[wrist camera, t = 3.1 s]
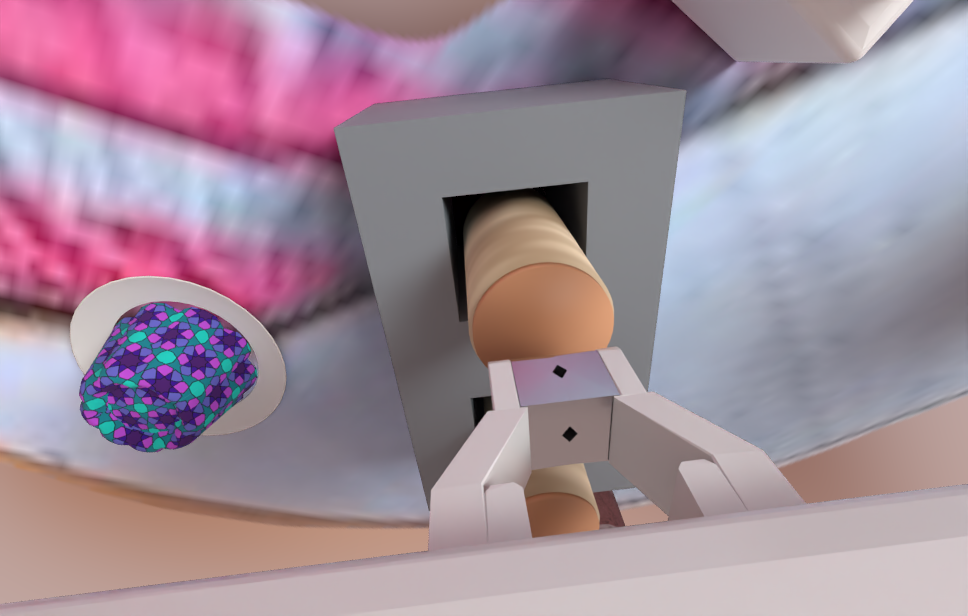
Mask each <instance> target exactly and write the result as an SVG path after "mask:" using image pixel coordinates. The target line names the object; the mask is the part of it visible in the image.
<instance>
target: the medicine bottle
mask: <svg viewBox="0 0 968 616" xmlns="http://www.w3.org/2000/svg"><path fill="white" fill-rule="evenodd" d="M671 1H672V2H673V3H674V4H675V5H677V6H678V7H679V8H680V9H681V10H682V11H683V12H684V13H685V14H686V15H687V16H688V17H689V18H690V19H691V20H692V21H694V22H695V23H696V24H697V25H698V26H699V27H700V28H701V29H702V30H703V31H704V32H705V33H706V34H707V35H708V36H709V37H711V38H712V39H713V40H714V41H715V42H716V43H717V44H718V45H719V46H720V47H721V48H722V49H723V50H724V51H725V52H727V53H728V54H729V55H730V56H731V57H732V58H733V59H734V60H736V61H738V62H789V63H851V62H855V61H858V60H859V59H860V58H862V57H863V56H864V55H865V54H866V52H867V51H868V50H869V49H870V48H871V47H872V46H873V45H874V44H875V42H876V41H877V40H878V39H879V38H880V37H881V36H882V35H883V34H884V32H885V31H886V30H887V29H888V28H889V27H890V26H891V25H892V24H893V23H894V21H895V20H896V19H897V18H898V17H899V16H900V15H901V14H902V13H903V11H904V10H905V9H906V8H907V7H908V6H909V5H910V4H911V3H912V1H913V0H671Z"/></svg>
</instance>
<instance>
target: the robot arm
mask: <svg viewBox="0 0 968 616" xmlns="http://www.w3.org/2000/svg"><path fill="white" fill-rule="evenodd" d="M488 373H489V382H490V391H491V400H492V409H493V411H488V412H486V414H485V415H484V416H483V418H482V419H481V421H480V422H479V424H478V425H477V426H476V428H475V429H474V431H473V432H472V433H471V435H470V436H469V438H468V439H467V440H466V442H465V443H464V445H463V446H462V447H461V449H460V450H459V452H458V453H457V454H456V456H455V457H454V459H453V460H452V461H451V463H450V464H449V466H448V467H447V468H446V470H445V471H444V473H443V474H442V475H441V477H440V478H439V480H438V481H437V482H436V484H435V485H434V487H433V488H432V490H431V501H430V522H429V543H428V551H424V552H414V553H406V554H398V555H390V556H383V557H374V558H366V559H359V560H350V561H342V562H335V563H326V564H318V565H311V566H302V567H294V568H286V569H278V570H270V571H262V572H254V573H246V574H237V575H229V576H222V577H213V578H205V579H198V580H190V581H182V582H173V583H166V584H158V585H149V586H141V587H134V588H126V589H118V590H109V591H102V592H93V593H85V594H77V595H70V596H61V597H54V598H45V599H37V600H29V601H21V602H13V603H5V604H0V616H968V484H963V485H956V486H947V487H939V488H930V489H922V490H915V491H906V492H898V493H891V494H882V495H874V496H866V497H858V498H850V499H842V500H834V501H825V502H817V503H809V504H806V503H805V501H804V500H803V499H802V498H801V497H800V495H799V494H798V493H797V492H796V490H795V489H794V488H793V487H792V485H791V484H790V483H789V482H788V480H787V479H786V478H785V477H784V475H783V474H782V473H781V472H780V470H779V469H778V468H777V467H776V465H775V464H774V463H773V462H772V460H771V459H770V458H769V457H768V455H767V454H766V453H765V452H764V451H763V450H762V449H760V448H758V447H756V446H754V445H752V444H750V443H749V442H747V441H745V440H743V439H741V438H739V437H737V436H736V435H734V434H732V433H730V432H728V431H726V430H724V429H722V428H721V427H719V426H717V425H715V424H713V423H711V422H709V421H707V420H706V419H704V418H702V417H700V416H698V415H696V414H694V413H693V412H691V411H689V410H687V409H685V408H683V407H681V406H679V405H678V404H676V403H674V402H672V401H670V400H668V399H666V398H664V397H663V396H661V395H659V394H657V393H655V392H646V390H645V388H644V387H643V385H642V384H641V382H640V380H639V379H638V377H637V375H636V374H635V372H634V370H633V369H632V367H631V365H630V364H629V362H628V360H627V359H626V357H625V356H624V354H623V352H622V351H621V349H620V348H619V347H617V346H616V347H609V348H602V349H595V350H594V351H585V352H577V353H569V354H561V355H549V356H539V357H528V358H518V359H510V360H509V359H508V360H499V361H490V362H488ZM601 461H609V463H610V464H611V465H612V466H613V467H614V468H615V469H616V470H617V471H619V472H620V473H621V474H622V475H623V476H624V477H625V478H626V479H627V480H629V481H630V482H631V483H632V484H633V485H634V486H635V487H636V488H638V489H639V490H640V491H641V492H642V493H643V494H644V495H645V496H646V497H648V498H649V499H650V500H651V501H652V502H653V503H654V504H655V505H657V506H658V507H659V508H660V509H661V510H662V511H664V513H665V514H667V515H668V516H669V518H668V521H664V522H656V523H648V524H641V525H632V526H624V527H616V528H608V529H600V530H592V531H584V532H575V533H567V534H559V535H551V536H543V537H535V538H532V534H531V528H530V523H529V518H528V512H527V507H526V501H525V496H524V489H525V487H526V485H527V482H528V480H529V477H530V475H531V473H532V471H531V470H536V469H543V468H549V467H556V466H563V465H569V464H580V463H591V462H601Z"/></svg>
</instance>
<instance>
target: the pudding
mask: <svg viewBox="0 0 968 616" xmlns="http://www.w3.org/2000/svg"><path fill="white" fill-rule="evenodd" d="M156 301H174V302H181V303H186V304H191V305H194V306H197V307H200V308H203V309H206V310H208V311H210V312H212V313H214V314H216V315H218V316H220V317H221V318H223V319H224V320H226V321H228V322H229V323H230V324H232V325H233V326H234V327H235V328H236V329H237V330H239V331H240V332H241V334H242V335H243V336H244V337H245V338H246V339H247V340H248V342H249V344H250V345H251V347H252V349H253V350H254V353H255V355H256V358H257V362H258V368H259V371H258V379H257V370H256V368H255V367H254V366H253V365H252V363H251V362H250V361H249V360H248V357H249V355H250V352H251V349H250V347H249V345H248V343H247V341H246V340H245V339H244V338H243V337H242V336H241V335H240V334H239V333H238V332H234V331H231V330H228V329H224V328H223V326H222V325H221V323H220V321H219V320H218V318H217V317H216V316H214V315H212V314H211V313H209V312H207V311H206V310H202V309H198V308H194V307H190V308H187V309H183V310H180V311H179V310H177V309H175V308H173V307H171V306H169V305H167V304H165V303H151V304H149V305H146V306H143V307H141V309H140V310H139V312H138V313H137V315H136V316H135V317H130V318H123V319H122V320H121V321H120V322H119V323H117V324H116V326H115V328H114V329H113V327H114V325H115V323H116V322H117V320H118V319H119V318H120V316H121V315H123V314H124V313H125V312H127V311H128V310H129V309H131V308H133V307H136V306H138V305H140V304H145V303H149V302H156ZM112 330H113V331H112ZM70 342H71V347H72V352H73V354H74V357H75V359H76V361H77V364H78V366H79V368H80V369H81V371H82V372H83V374H84V375H85V376H84V377H83V379H82V381H81V386H80V392H79V396H80V398H81V400H82V402H81V405H80V411H81V414H82V417H83V418H84V419H85V420H86V421H87V422H88V424H89V425H92V426H94V427H96V428H98V429H99V430H100V432H101V435H102V436H103V437H104V438H106V439H107V440H108V441H110V442H113V443H115V444H118V445H129V446H131V447H132V448H134V449H136V450H138V451H143V452H159V451H161V450H162V449H164V448H165V449H178V448H181V447H184V446H186V445H188V444H190V443H192V442H193V441H194V440H195V439H196V438H197V437H199V436H200V435H205V436H214V435H225V434H231V433H235V432H239V431H243V430H245V429H248V428H250V427H253V426H255V425H257V424H258V423H260V422H262V421H263V420H265V419H266V418H267V417H268V416H269V415H270V414H271V413H272V412H273V411H274V410H275V409H276V408H277V406H278V405H279V403H280V402H281V400H282V397H283V394H284V391H285V386H286V370H285V363H284V360H283V358H282V355H281V352H280V349H279V348H278V346H277V344H276V343H275V341H274V339H273V338H272V336H271V335H270V333H269V332H268V331H267V330H266V329H265V328H264V326H263V325H262V324H261V323H260V322H259V321H258V320H257V319H256V318H255V317H254V316H252V315H251V314H250V313H249V312H248V311H247V310H246V309H244V308H243V307H241V306H240V305H238V304H237V303H235V302H234V301H232V300H231V299H229V298H227V297H225V296H223V295H221V294H219V293H217V292H215V291H213V290H211V289H209V288H206V287H203V286H200V285H197V284H195V283H192V282H188V281H184V280H179V279H174V278H170V277H157V276H140V277H128V278H124V279H120V280H116V281H112V282H109V283H107V284H105V285H103V286H101V287H99V288H97V289H95V290H94V291H93V292H91V293H90V294H89V295H88V296H86V297H85V298H84V299H83V300H82V302H81V303H80V304H79V306H78V307H77V309H76V310H75V312H74V315H73V318H72V321H71V324H70ZM256 379H257V382H256V385H255V387H254V389H253V390H252V392H251V393H250V394H249V395H248V396H247V397H246V398H245V399H244V400H242V401H240V400H241V399H242V398H243V393H245V392H246V391H247V390H248V389H249V388H250V387H251V386H252V385H253V384H254V383H255V381H256ZM239 401H240V402H239ZM237 402H239V403H237ZM236 403H237V404H236Z"/></svg>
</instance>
